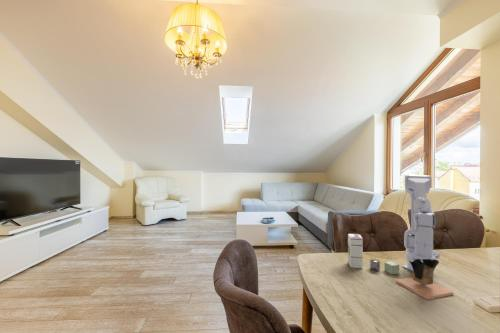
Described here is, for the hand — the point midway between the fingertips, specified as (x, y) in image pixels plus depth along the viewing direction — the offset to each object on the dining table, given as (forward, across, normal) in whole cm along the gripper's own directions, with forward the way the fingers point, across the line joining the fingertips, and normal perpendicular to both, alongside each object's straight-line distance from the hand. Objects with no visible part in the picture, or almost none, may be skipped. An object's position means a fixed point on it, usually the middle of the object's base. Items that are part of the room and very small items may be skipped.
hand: (423, 277), depth 93 cm
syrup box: (+4, -12, +24) cm, 27 cm away
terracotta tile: (+4, 0, 0) cm, 4 cm away
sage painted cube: (+4, 0, +14) cm, 15 cm away
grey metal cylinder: (+4, -5, +18) cm, 20 cm away
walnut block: (+2, 0, 0) cm, 2 cm away
